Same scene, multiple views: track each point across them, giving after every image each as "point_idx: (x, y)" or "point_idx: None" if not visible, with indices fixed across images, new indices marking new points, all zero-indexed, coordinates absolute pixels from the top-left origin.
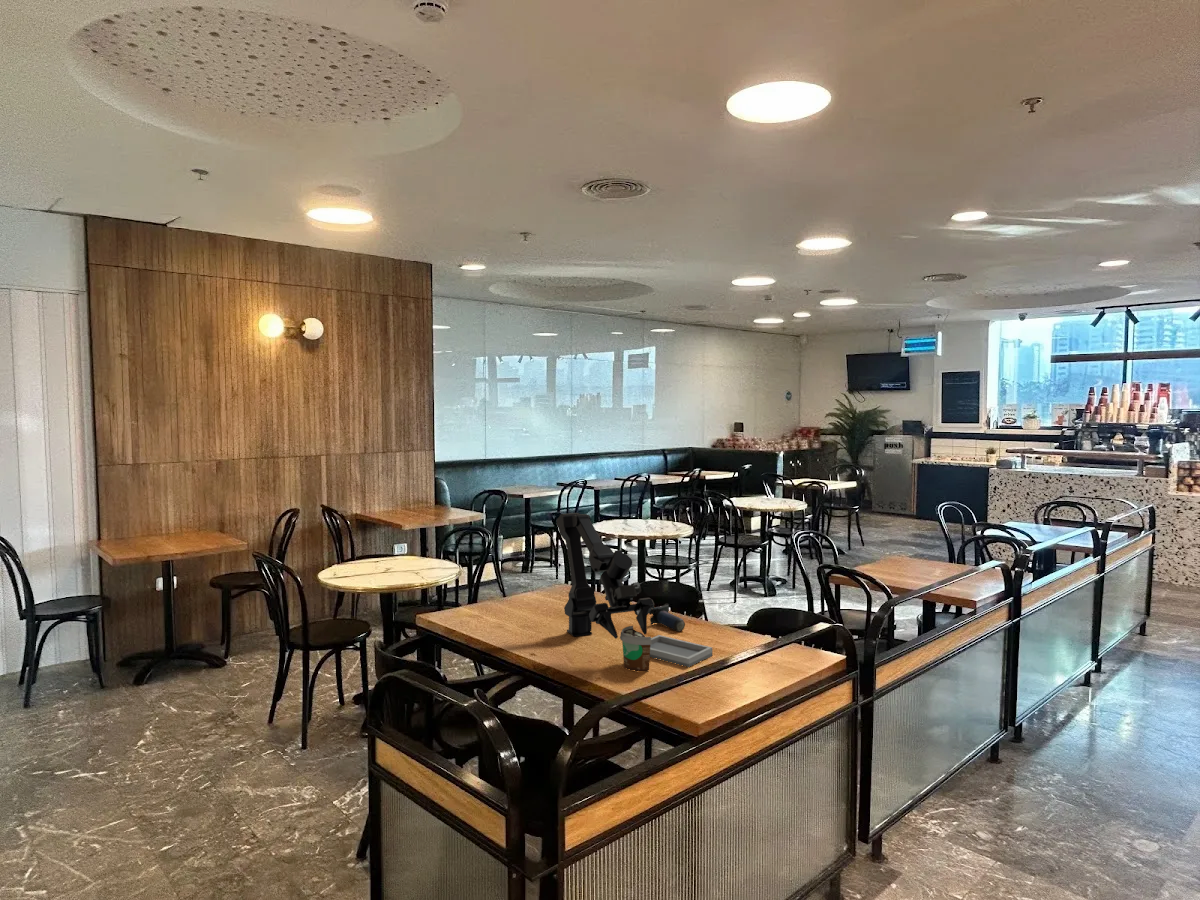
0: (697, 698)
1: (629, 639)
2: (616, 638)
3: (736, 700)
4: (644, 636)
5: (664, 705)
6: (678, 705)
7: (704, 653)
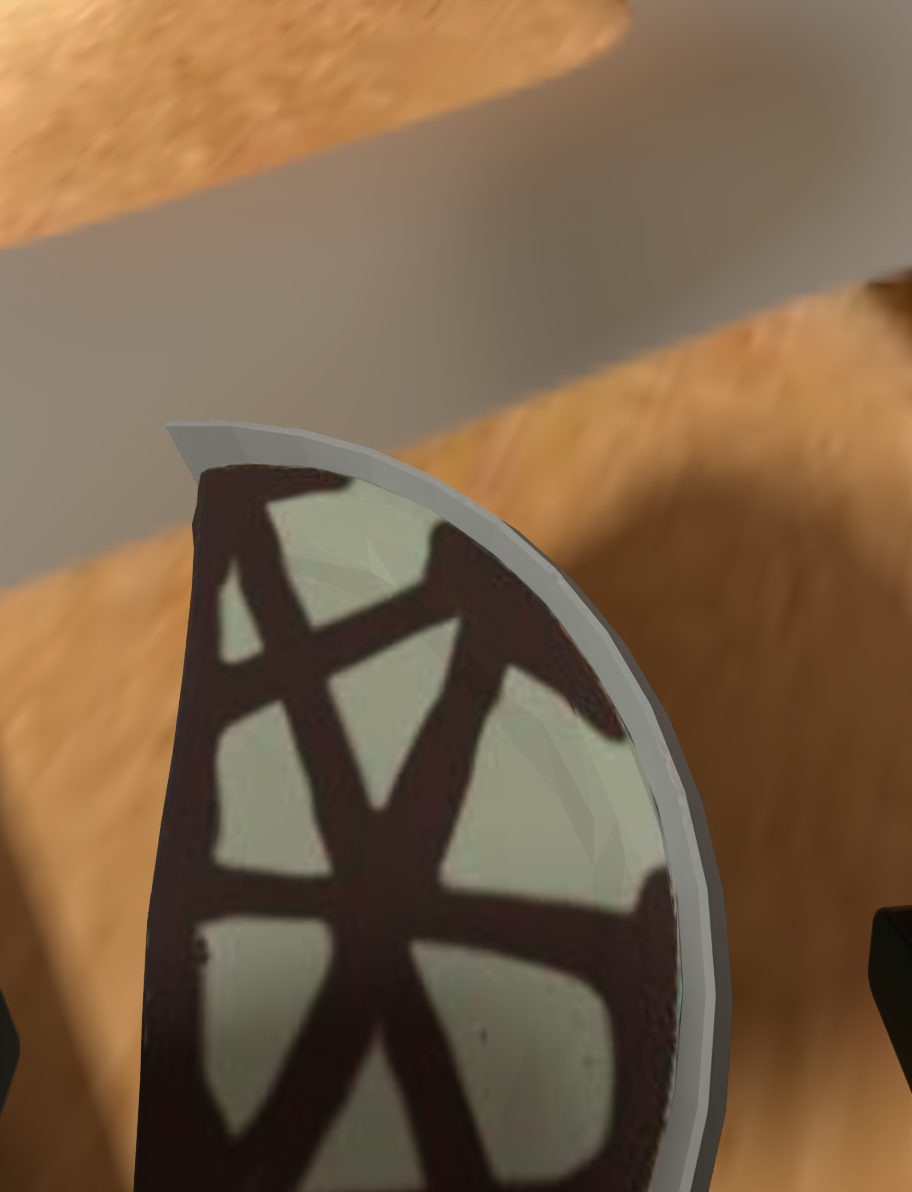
0: (269, 74)
1: (615, 636)
2: (878, 966)
3: (43, 5)
4: (198, 685)
5: (565, 32)
6: (466, 15)
7: None
